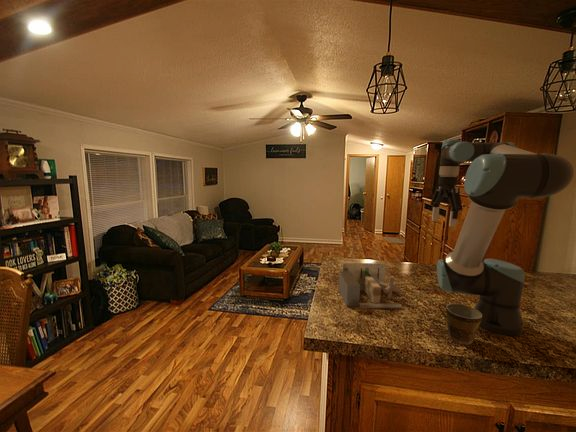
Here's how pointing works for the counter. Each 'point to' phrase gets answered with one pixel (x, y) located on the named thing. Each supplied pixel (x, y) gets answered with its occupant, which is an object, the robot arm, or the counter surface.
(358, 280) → the gauge frame
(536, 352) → the counter surface
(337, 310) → the counter surface
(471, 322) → the ceramic cup
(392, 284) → the pipe connector
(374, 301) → the gauge pad
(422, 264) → the counter surface
